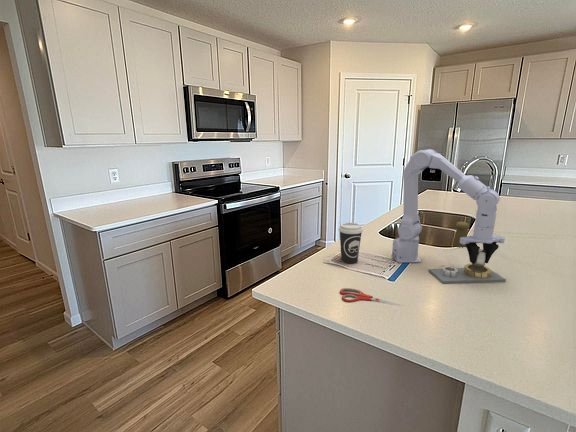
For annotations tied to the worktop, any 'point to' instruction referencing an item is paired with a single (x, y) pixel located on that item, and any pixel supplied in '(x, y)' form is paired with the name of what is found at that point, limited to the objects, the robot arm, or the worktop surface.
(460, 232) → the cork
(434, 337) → the worktop surface
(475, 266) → the metal cylinder peg
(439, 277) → the fitting board
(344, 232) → the coffee cup
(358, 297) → the scissors
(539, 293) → the worktop surface
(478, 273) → the wide socket
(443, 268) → the narrow socket
